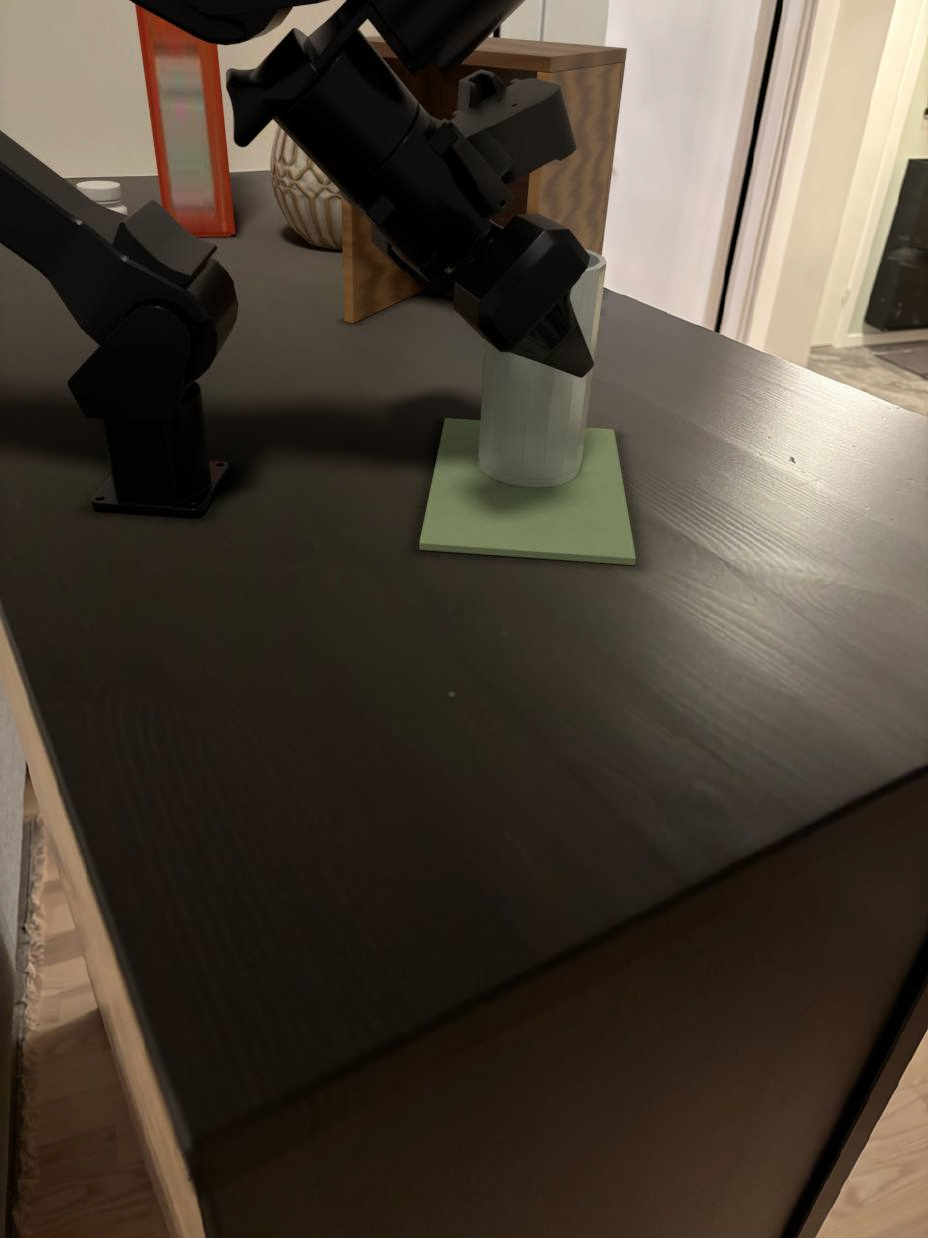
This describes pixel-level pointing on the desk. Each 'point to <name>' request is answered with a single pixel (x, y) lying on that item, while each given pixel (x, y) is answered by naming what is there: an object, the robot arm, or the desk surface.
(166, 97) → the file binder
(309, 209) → the vase
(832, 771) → the desk surface
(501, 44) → the cubby cabinet
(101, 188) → the pill bottle
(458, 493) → the mat
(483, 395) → the container
